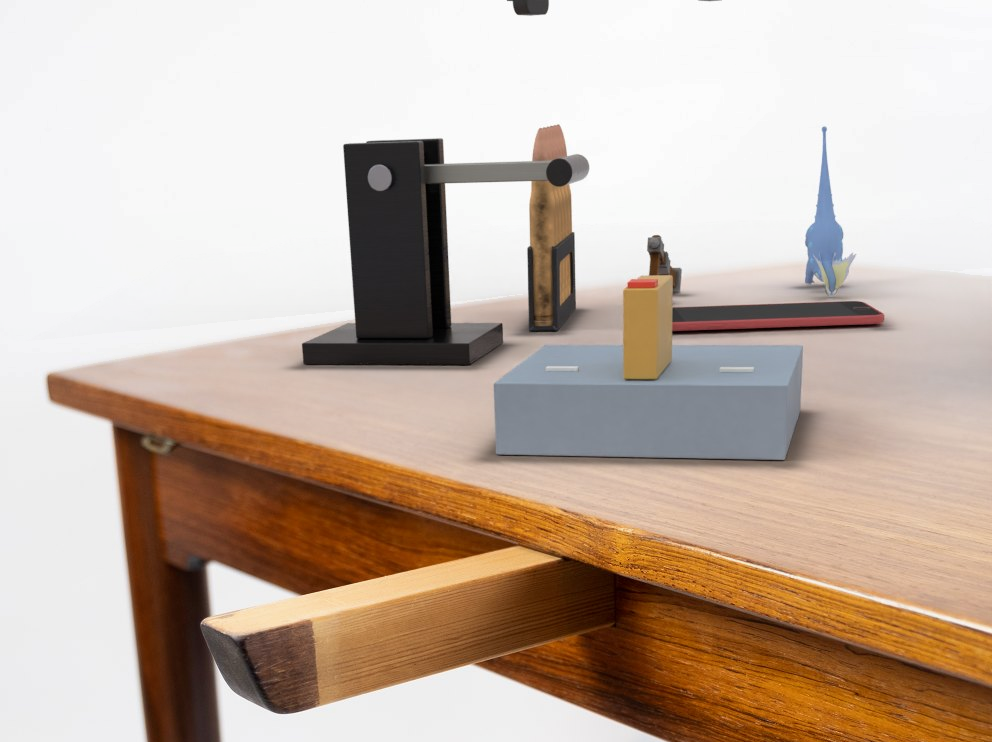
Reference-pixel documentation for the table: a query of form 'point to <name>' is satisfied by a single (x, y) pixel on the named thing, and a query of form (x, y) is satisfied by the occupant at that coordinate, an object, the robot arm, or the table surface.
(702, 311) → the smartphone
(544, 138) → the ammunition clip
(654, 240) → the wooden post with brackets
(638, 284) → the yellow block
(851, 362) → the table surface
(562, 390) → the switch base
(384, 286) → the lever stand
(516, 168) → the handle lever
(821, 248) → the dinosaur figurine
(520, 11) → the robot arm
